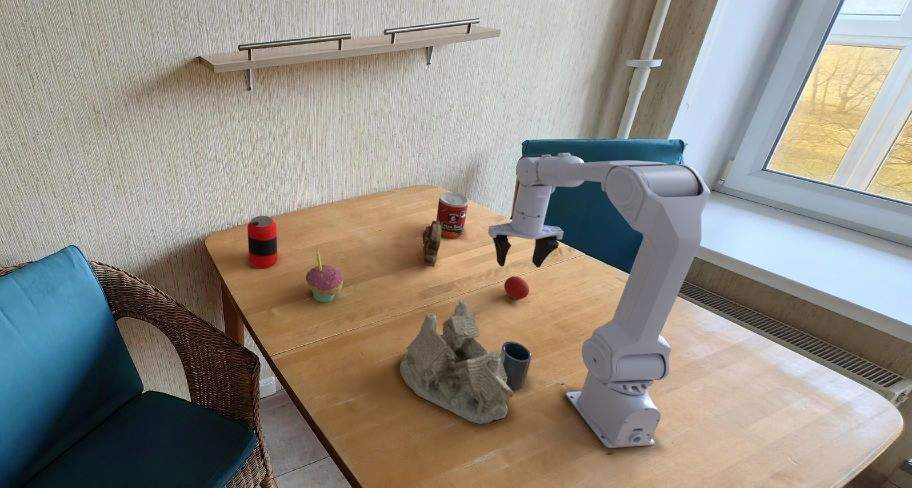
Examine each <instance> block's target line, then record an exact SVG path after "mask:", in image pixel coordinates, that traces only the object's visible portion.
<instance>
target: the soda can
mask: <svg viewBox="0 0 912 488" xmlns="http://www.w3.org/2000/svg"><path fill="white" fill-rule="evenodd" d="M246 229H247V243H248V244H247V247H248V260H249V261H248V262H249V263H250V264H251V265H252V266H253V267H255V268H258V269H268V268H270V267H273V266H274V265H275V264H276V263H277V261H278V239H277V238H278V235H277V233H278V232H277V231H278V229H277V223H276V222H275V220H274V219H273V218H271V217H270V216H268V215H257V216H254V217H253V218H252V219H251V220H250V221H249V222H248V224H247V228H246Z"/></svg>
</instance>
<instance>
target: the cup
mask: <svg viewBox="0 0 912 488" xmlns="http://www.w3.org/2000/svg"><path fill="white" fill-rule="evenodd" d="M499 354H500V357H501V360H502V364H503V367H504V370H505V373H506V376H507V377H508V378H507V382H506V384H507V386H508V387H509V388H510V389H514V390H518V389H522V388H524V386H525V383H526V380H527V377H528V371H529V368H530V364H531V360H532V353H531V351H530V350H529V349H528V348H527V347H526V346H525V345H523V344H522V343H519V342H516V341H510V340H509V341H505V342H503V344H502V346H501V349H500V352H499Z"/></svg>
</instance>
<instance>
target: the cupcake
mask: <svg viewBox="0 0 912 488" xmlns="http://www.w3.org/2000/svg"><path fill="white" fill-rule="evenodd" d="M316 259H317V266H314V267H313V268H311V269H309V271H307V272H306V275H305V281H306V285H307V287H308V289H310V290H311V292H312V294H313V297H314V299H315V300H316V301H318V302H321V303H328V302H329V303H330V302H331V301H333V300H334V298H335V295H336V293H338V292H340V291H341V290H342V288H343V285H344V279H343V275H342V273H341V272H340V271H339V270H338V269H336V268H335V267H332V266H331V265H325V264H322V262H321V261H322V260H321V253H320V252H319V250H316Z"/></svg>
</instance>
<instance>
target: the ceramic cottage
mask: <svg viewBox="0 0 912 488" xmlns="http://www.w3.org/2000/svg"><path fill="white" fill-rule="evenodd" d="M467 308H468V307H467V302H466V301H464V300H458V304H457V305H455V308H454V311H453V315H451V316H449V318H447V319H446V320H445V321H444V322H443V323H442V334H440V333H438V331H437V317H436V315H435V314H434V313H432V312H427V313H425V317H424V320H423V322H422V324H421V327H420V330H419V332H418V334H417V335H416V336H415V338H414V339H413V340H412V341H411V342H410V344H409V345H408V346H406V350H407V351H406V352H405V353H404V355H403V356H404V357H403V358H402V360H401V361H400V365H399V372H400V376H401V377H402V379H403V380H404V383H405V384H406V385H407V386H408V387H409V388H410V389H411V390H412V391H413V392H414V393H415V394H416V395H417V396H418V397H420V398H422V399H424V400H426V401H428V402H431V403H432V404H435V405H437V406H438V407H441V408H443V409H444V410H447V411H449V412H450V413H453V414H455V415H457V416H459V417H461V418H462V419H465V420H466V421H468V422H471V423H475V424H479V425H484V424H489V423H490V422H491V423H492V422H493V421H499V420H501V419H504V418H506V416H507V413H508V406H507V402H508V401H509V398H510V397H513V395H514V391H513V390H512V388H510V387H508V386H507V384H506V382H507V378H508V377H507V376H506V373H505V370H504V367H503V364H502V360H501V357H500V351H499V350H498V349H495V350H492V351H488V350H487V348H485V346H484V345H483V344H482V343H481V342H480V341H479V340H478V339H477V338H479V336H480V332H479V327H478V324H477V319H476V317H475V314H474V312H473V311H471V312H468V309H467Z"/></svg>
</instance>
